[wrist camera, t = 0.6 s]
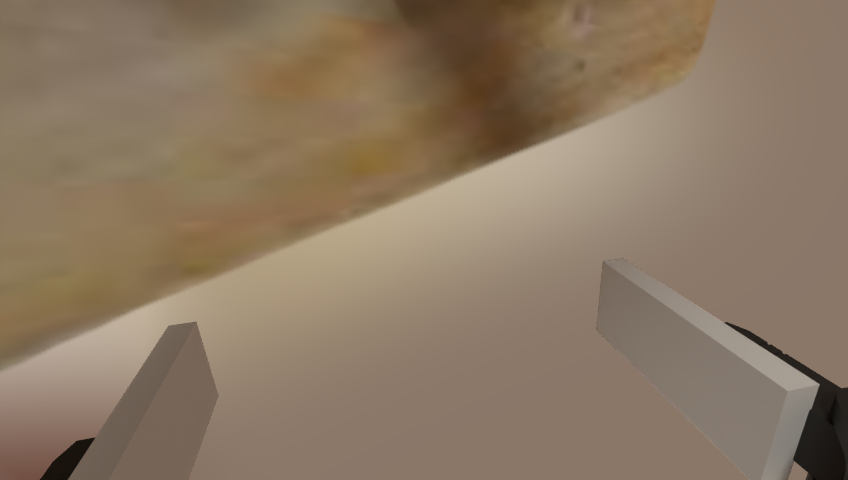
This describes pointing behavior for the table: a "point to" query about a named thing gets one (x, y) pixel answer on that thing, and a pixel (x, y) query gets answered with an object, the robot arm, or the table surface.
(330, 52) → the table surface
